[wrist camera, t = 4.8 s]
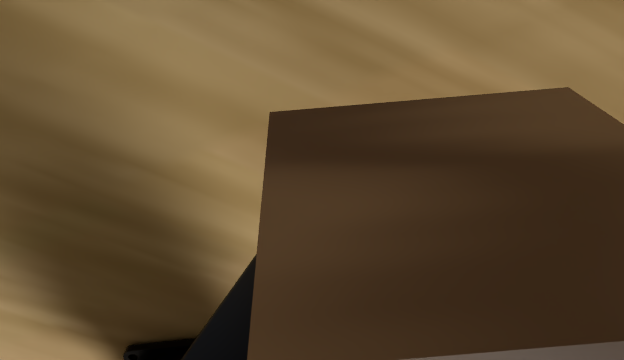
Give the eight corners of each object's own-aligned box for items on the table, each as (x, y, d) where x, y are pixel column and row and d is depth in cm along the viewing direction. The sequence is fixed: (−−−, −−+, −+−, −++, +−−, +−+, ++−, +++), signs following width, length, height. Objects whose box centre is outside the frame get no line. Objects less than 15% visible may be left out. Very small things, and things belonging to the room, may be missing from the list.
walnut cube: (296, 320, 10) (301, 617, 6) (269, 112, 8) (245, 372, 3) (520, 302, 10) (682, 585, 6) (568, 87, 8) (913, 316, 3)
